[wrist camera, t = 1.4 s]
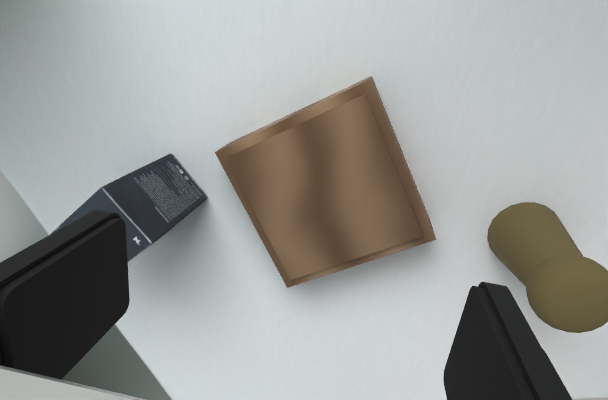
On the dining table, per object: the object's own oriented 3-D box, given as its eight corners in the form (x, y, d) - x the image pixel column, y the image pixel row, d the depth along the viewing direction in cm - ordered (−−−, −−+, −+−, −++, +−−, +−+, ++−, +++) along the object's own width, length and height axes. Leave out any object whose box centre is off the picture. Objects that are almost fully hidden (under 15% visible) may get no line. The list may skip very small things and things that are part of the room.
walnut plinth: (371, 76, 33) (370, 79, 29) (430, 221, 36) (436, 241, 33) (229, 142, 37) (213, 153, 33) (294, 268, 40) (286, 290, 37)
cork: (534, 274, 36) (594, 362, 26) (473, 246, 36) (511, 322, 26) (577, 220, 34) (662, 293, 24) (513, 190, 34) (570, 250, 24)
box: (171, 151, 38) (100, 185, 29) (209, 196, 39) (154, 245, 30) (120, 195, 41) (40, 240, 31) (157, 236, 42) (91, 293, 32)
